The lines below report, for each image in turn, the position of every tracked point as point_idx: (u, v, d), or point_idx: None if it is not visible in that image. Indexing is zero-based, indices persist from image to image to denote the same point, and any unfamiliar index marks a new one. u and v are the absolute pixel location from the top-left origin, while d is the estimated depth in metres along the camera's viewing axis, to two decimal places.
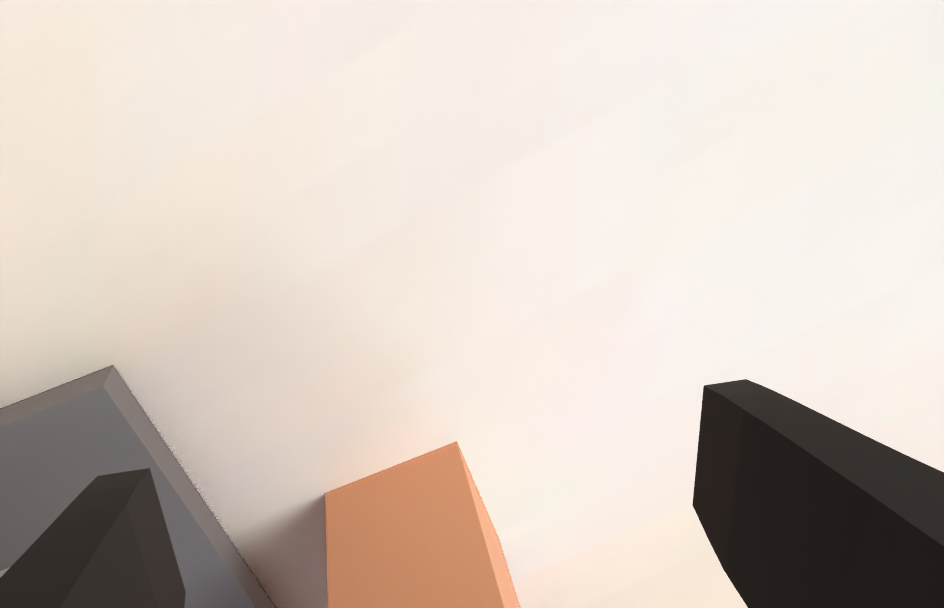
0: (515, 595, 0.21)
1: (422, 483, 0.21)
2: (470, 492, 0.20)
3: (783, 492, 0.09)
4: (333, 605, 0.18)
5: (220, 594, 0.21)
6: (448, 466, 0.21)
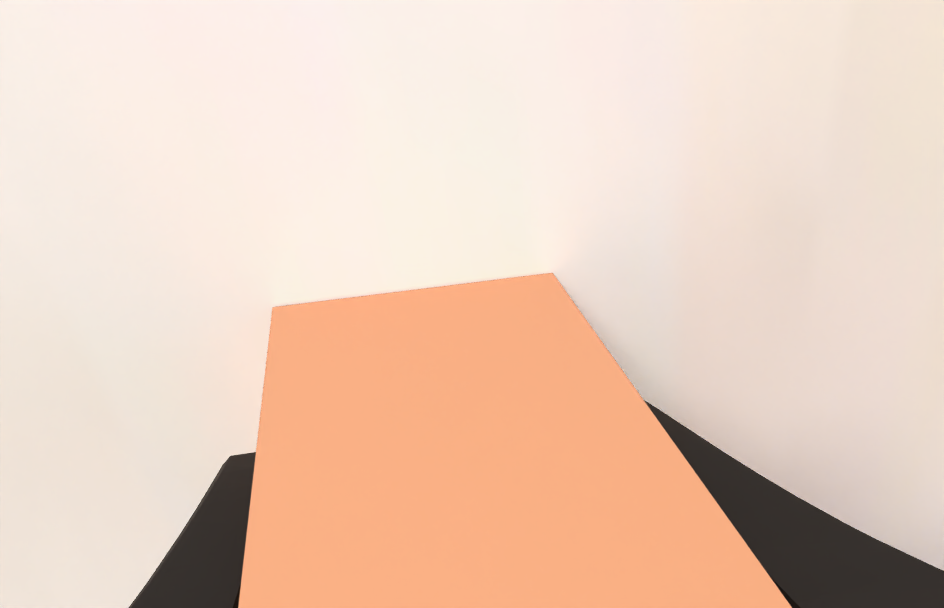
0: (588, 363, 0.09)
1: None
2: (265, 392, 0.09)
3: None
4: None
5: None
6: None
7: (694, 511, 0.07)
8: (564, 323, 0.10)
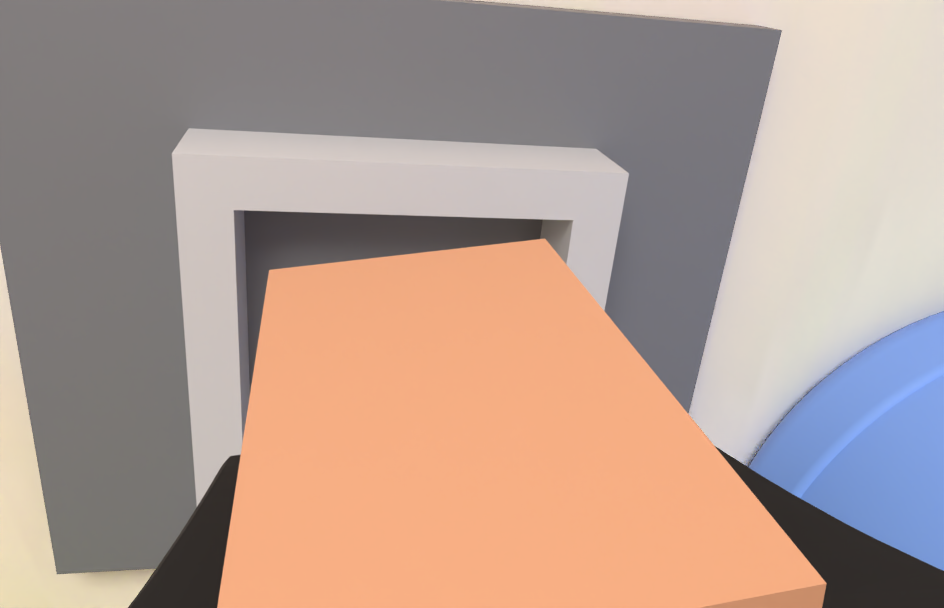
0: (578, 314, 0.09)
1: None
2: (260, 342, 0.09)
3: None
4: None
5: (364, 27, 0.15)
6: None
7: (679, 437, 0.07)
8: (555, 281, 0.10)
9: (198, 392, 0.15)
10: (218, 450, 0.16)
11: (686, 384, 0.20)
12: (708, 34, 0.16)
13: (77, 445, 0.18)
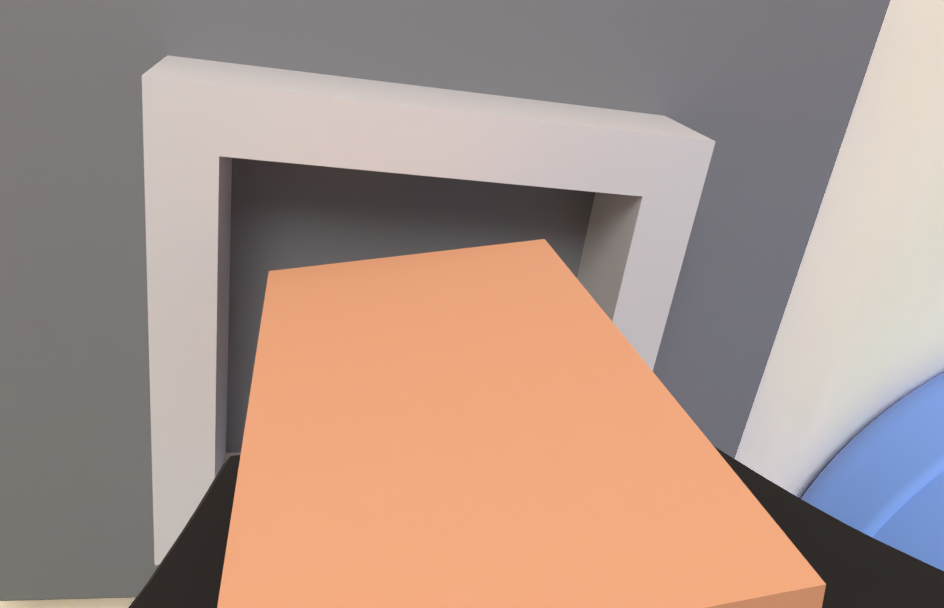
0: (577, 314, 0.09)
1: None
2: (260, 343, 0.09)
3: None
4: None
5: None
6: None
7: (678, 438, 0.07)
8: (555, 281, 0.10)
9: (162, 388, 0.12)
10: (184, 462, 0.13)
11: (741, 405, 0.17)
12: None
13: (10, 446, 0.14)
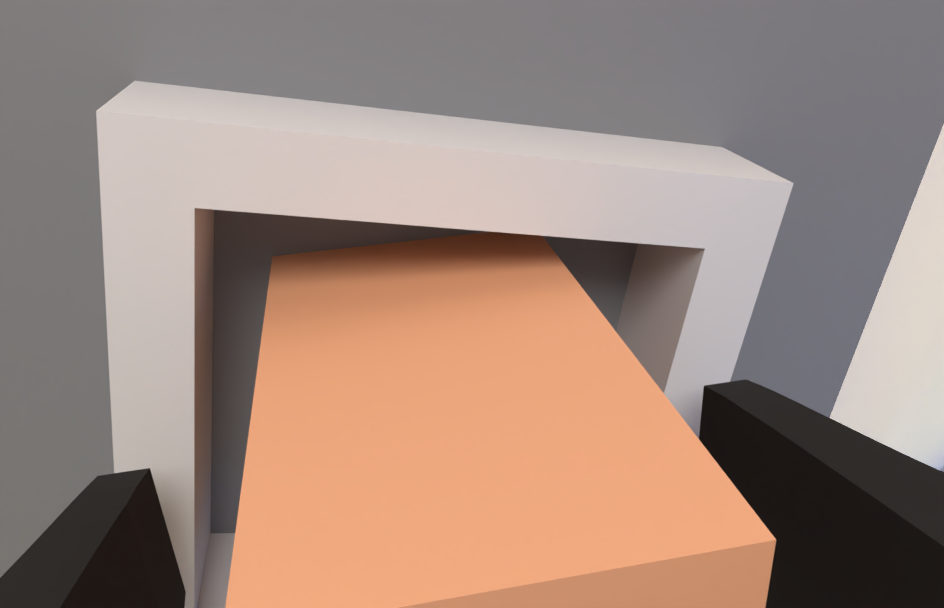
0: (564, 299, 0.10)
1: None
2: (265, 324, 0.09)
3: (785, 493, 0.09)
4: None
5: None
6: None
7: (652, 412, 0.07)
8: (544, 267, 0.10)
9: None
10: None
11: None
12: None
13: None
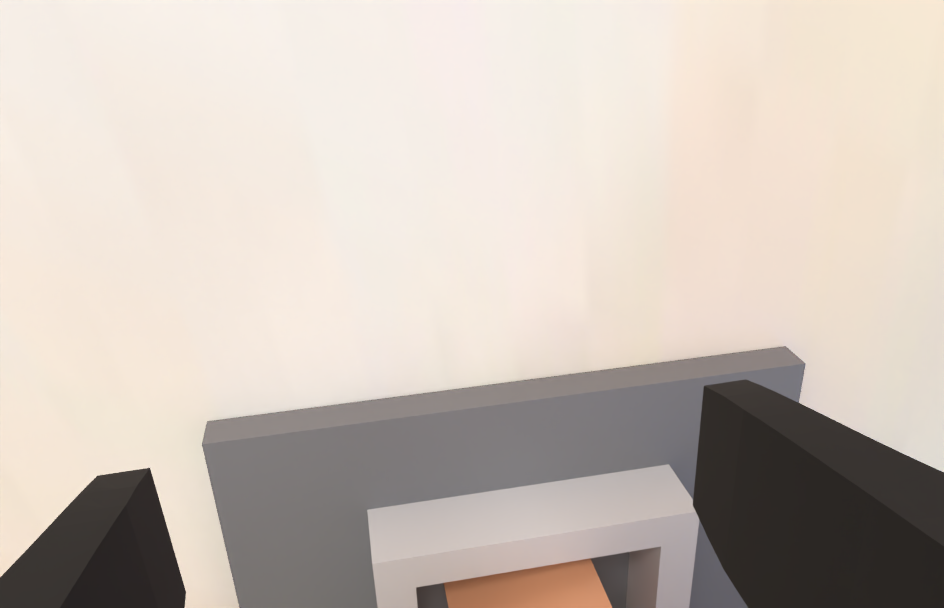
0: (592, 593, 0.20)
1: None
2: None
3: (784, 493, 0.09)
4: None
5: (489, 425, 0.20)
6: None
7: None
8: (581, 564, 0.21)
9: None
10: None
11: None
12: (748, 377, 0.21)
13: None
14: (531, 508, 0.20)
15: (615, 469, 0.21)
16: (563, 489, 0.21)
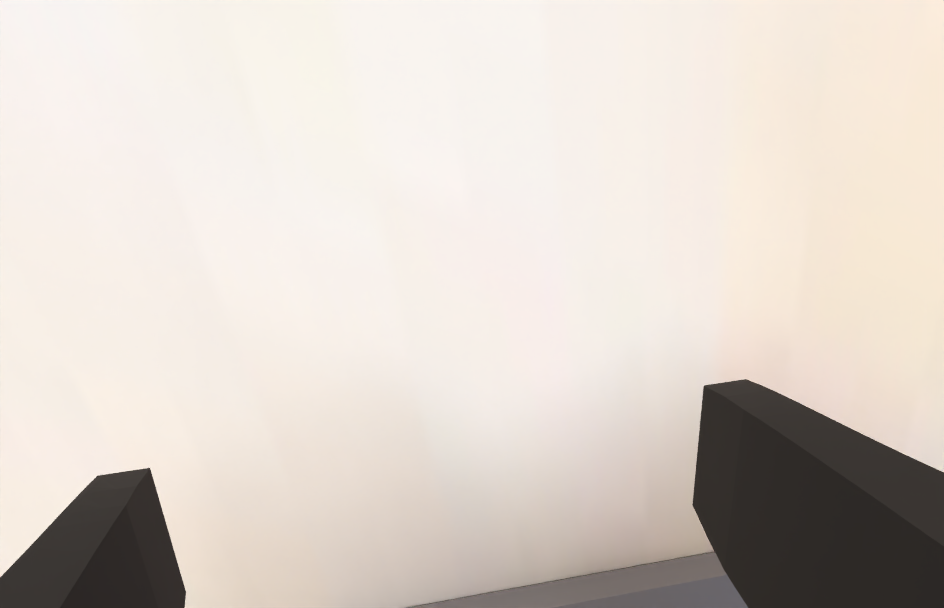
0: None
1: None
2: None
3: (783, 493, 0.09)
4: None
5: None
6: None
7: None
8: None
9: None
10: None
11: None
12: None
13: None
14: None
15: None
16: None
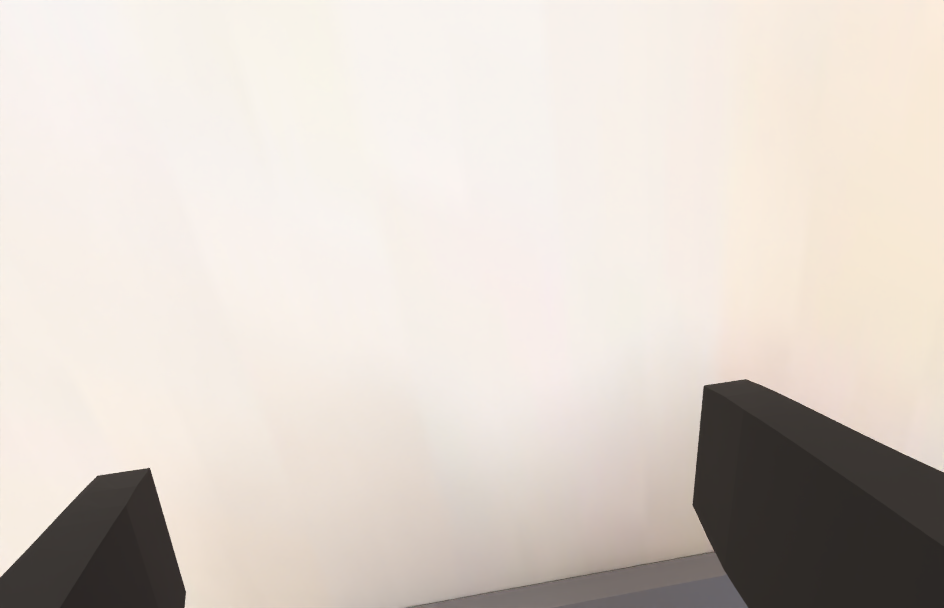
0: None
1: None
2: None
3: (783, 493, 0.09)
4: None
5: None
6: None
7: None
8: None
9: None
10: None
11: None
12: None
13: None
14: None
15: None
16: None
